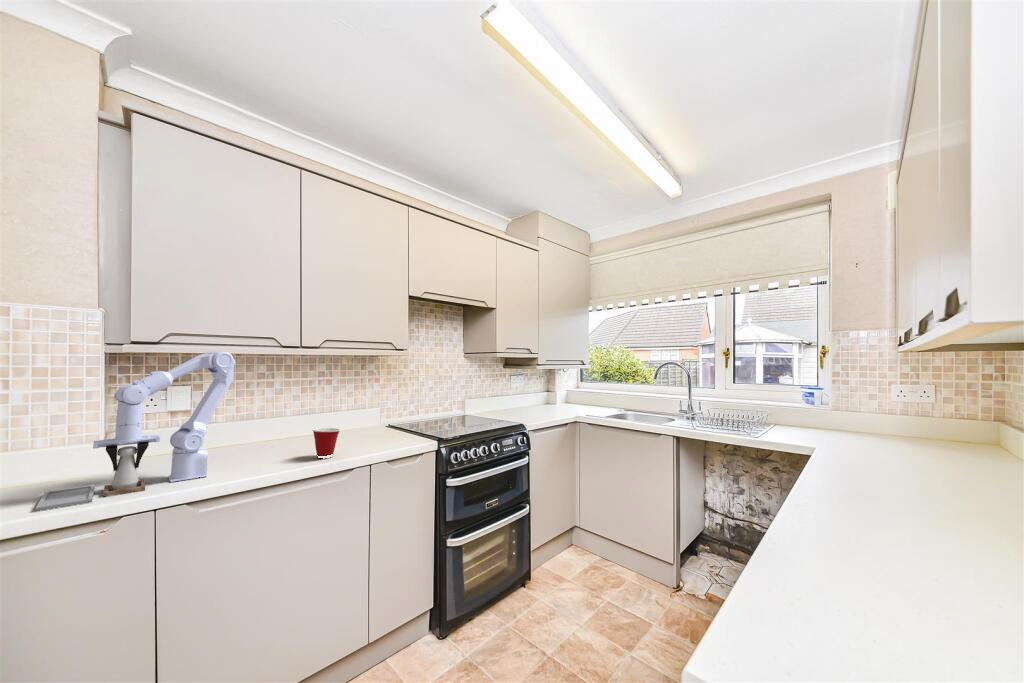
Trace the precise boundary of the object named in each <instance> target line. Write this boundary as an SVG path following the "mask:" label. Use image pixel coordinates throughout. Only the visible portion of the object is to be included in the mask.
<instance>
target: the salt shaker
mask: <svg viewBox="0 0 1024 683" xmlns="http://www.w3.org/2000/svg"><path fill="white" fill-rule="evenodd" d="M135 455H137V446H134V445H133V446H132V445H126V446H123V447H120V448H119V449H118V448H117V457H118V456H119V458H118V461H117V471H114V475H113V479H112V482H111V484H112V487H113V489H112V490H113V491H115V490H122V489H128V488H135V487H137V485H136V484H137V483H138V481H139V476H138V471H137V468H135V465H136V464H135V463H136V458H135Z"/></svg>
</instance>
